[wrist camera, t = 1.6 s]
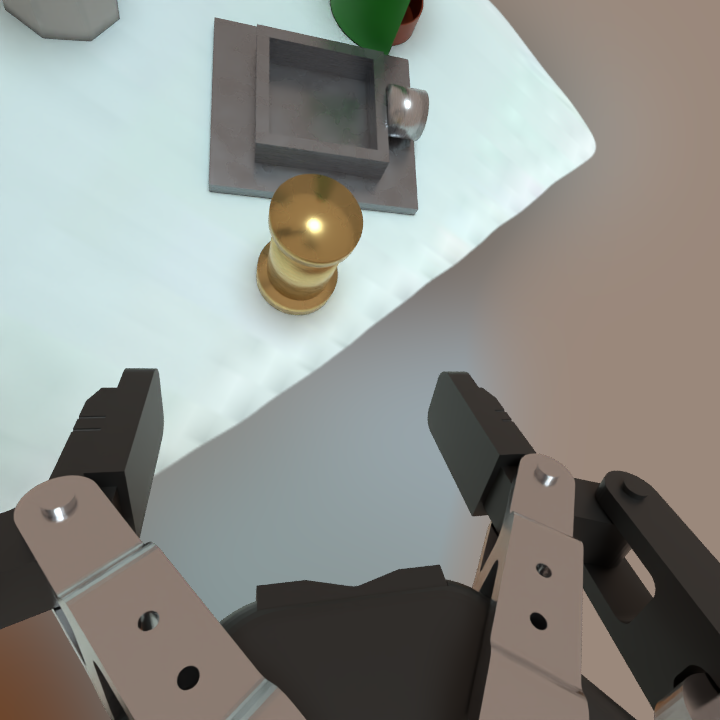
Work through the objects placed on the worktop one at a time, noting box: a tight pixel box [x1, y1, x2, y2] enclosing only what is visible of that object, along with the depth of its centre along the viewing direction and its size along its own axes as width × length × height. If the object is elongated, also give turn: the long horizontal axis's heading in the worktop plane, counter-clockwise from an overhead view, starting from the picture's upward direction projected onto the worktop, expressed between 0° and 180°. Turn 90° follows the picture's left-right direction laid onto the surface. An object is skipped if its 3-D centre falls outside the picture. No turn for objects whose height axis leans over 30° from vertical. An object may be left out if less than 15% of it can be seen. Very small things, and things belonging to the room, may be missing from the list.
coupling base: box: [209, 18, 429, 215], centre depth 38 cm, size 18×16×5 cm
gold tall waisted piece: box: [256, 174, 363, 315], centre depth 32 cm, size 6×6×10 cm
